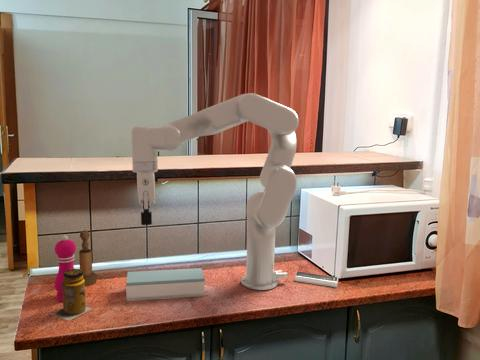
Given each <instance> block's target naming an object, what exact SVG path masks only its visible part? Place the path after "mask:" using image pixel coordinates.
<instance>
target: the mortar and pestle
mask: <svg viewBox="0 0 480 360" xmlns="http://www.w3.org/2000/svg"><path fill="white" fill-rule="evenodd" d="M90 236H91V235H90V231H88V230H85V229H84V230H82V231H80V234H79V237H80V239H81V240H82V243H81V248H82V249H80V250H79V255H78V256H79V269H80V270H82V271H83V279H84V280H85V287H89V286H92V285H95V284H96V283H97V273H95V272H94V271H93V250H92V249H90V248H89V247H90V246H89V245H90V244H89V242H88V240H89V238H90Z"/></svg>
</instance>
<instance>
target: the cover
mask: <svg viewBox="0 0 480 360" xmlns="http://www.w3.org/2000/svg"><path fill="white" fill-rule="evenodd" d="M195 281H206V279H205V276H204V271H203V269H202V267H198V268H196V267H195V268H194V267H193V268H177V269H158V270H140V271H139V270H138V271H127V275H126V282H125V286H126V285H143V284H160V283H177V282H195Z"/></svg>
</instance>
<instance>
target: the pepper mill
mask: <svg viewBox="0 0 480 360" xmlns="http://www.w3.org/2000/svg"><path fill="white" fill-rule="evenodd" d="M76 246H77V245H76V243H75V242H74V241H73V240H71V239H69V237H68V235H66V234H65V235H62V236H61V240H59V241H58V242H56V244H55V246H54V253H55V255H57V256H56V262H58V272H57V274H56V276H55V280H54V282H53V283H54V286H53V287H54V289H55V291H57V292H56V293H55V294H56V300H57V301H59V302H61V303H63V289H62V282H63V278H64V276H63V274H64V272H65V271H67V270H71V269H75V267H74V261H75V256H76V255H75V253H76V250H77V247H76Z"/></svg>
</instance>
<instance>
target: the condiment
mask: <svg viewBox="0 0 480 360" xmlns="http://www.w3.org/2000/svg"><path fill="white" fill-rule="evenodd" d="M63 276H64V278H63V282H62V289H63V302H62V307H63V308H61V309H59V310H57V311H55V312H53V313H51V316H53V317H56V318H59V319H61V320H66V321H68V322H70V321H72V320H74V319H75V318H76V319H77V318H78V317H80V316H82V315H83V314H85V313H87V312H89V311H91V310H92V309H93V307H89V306H86V286H85V280H84V279H83V271H82V270H80V268H74V269H71V270H67V271H65V272H64V274H63Z"/></svg>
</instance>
